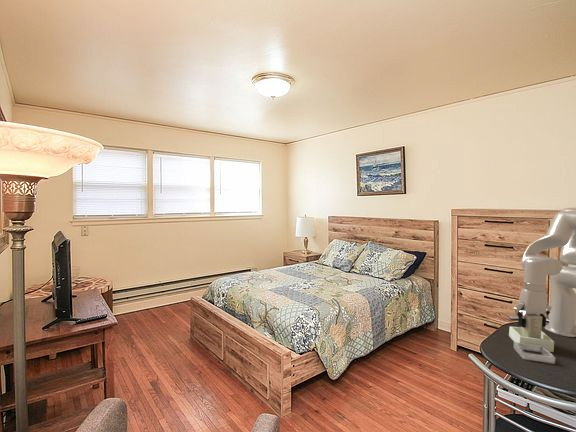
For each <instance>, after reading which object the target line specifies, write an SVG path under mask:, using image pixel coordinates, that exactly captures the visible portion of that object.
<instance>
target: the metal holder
mask: <svg viewBox="0 0 576 432" xmlns="http://www.w3.org/2000/svg"><path fill="white" fill-rule="evenodd" d="M513 349H514V350H515V352H516V353H517V354H518V355H519V357H521V358H522V359H523V360H525V361H526V360H527V361H531V362H532V361H533V362H540V363H546V364H552V365H555V364H556V357H555V356H554V355H553V354H552V352H549V351H548V350H547V349H545V348H544V347H543V346H539V345H532V344H525V343H518V342H514V341H513ZM526 351H527V352H526ZM532 352H536V353H532ZM539 353H540V354H539Z"/></svg>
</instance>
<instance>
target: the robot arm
mask: <svg viewBox="0 0 576 432" xmlns="http://www.w3.org/2000/svg"><path fill="white" fill-rule="evenodd" d="M557 248H560V253H559V259H557V258H555V257H548V256H542V255H538V254H539V253H541V252H543V251H547V250H551V249H552V250H553V249H557ZM562 263H564V264H567V265H563V264H562ZM520 265H521V268H522V269H523V270H524V271H523V273H524V274H523V275H524V276H523V288H522V289H521V291H520V293H519V298H518V305H515V306H514V307H513V309H514V312H515V314H516V316H517V317H518V320H517V325H518V326H519V327H520V328H521V327H523V328H525V327H526V319H525V317H526V316H527V315H528V314H537V315H539V316H542V327H543V328H544V329H545V330H546V331H548V332H549V333H552V334H555V335H558V336H562V337H567V338H576V291H575V290H574V289H576V267H573V266H576V207H566V208H563V209H561V210H560V211H558V212H557V213H555V214H554V217H553V219H552V221H551V222H550V225H549V227H548V229H547V231H546V233H545V235H544V236H542V237H540V238H538V239H536V240H535V241H533V242H532V243H530V244H529V245H528V246H527V247H526V248H525V251H524V253H523V255H522V257H521V259H520ZM568 265H572V266H568ZM547 276H549V277H550V283H551V295H550V296H551V297H550V305H549V304H548V297H547V291H546V287H547V285H546V284H547ZM522 314H523V315H522ZM548 316H549V321H548V324H547V318H548Z"/></svg>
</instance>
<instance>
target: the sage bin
mask: <svg viewBox="0 0 576 432" xmlns="http://www.w3.org/2000/svg"><path fill="white" fill-rule="evenodd" d="M520 330H521V327H520V326H519V327H518V326H509V329H508V331H509V332H508V336H509V338H510V339H511V340H512V341H513V343H514V342H518V343H525V344H532V345H539V346H543V347H544V348H545V349H547V350H548V351H549V352H550V353H554V350H555V340H553V339H552V338H551V337H550V336H548V335H547V334H546V333H545V332H544V331H542V330H541V339H537V338H529V337H522V336H521V335H520Z"/></svg>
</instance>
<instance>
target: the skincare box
mask: <svg viewBox="0 0 576 432" xmlns="http://www.w3.org/2000/svg"><path fill="white" fill-rule="evenodd" d="M523 314H524V313H522V315H523ZM525 319H526V327H525V328H523V327H521V326H520V328H521V330H520V335H521V336H522V337H529V338H537V339H541V331H542V327H543V326H542V316H539V314H528V315H527V316H526V317H525Z"/></svg>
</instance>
